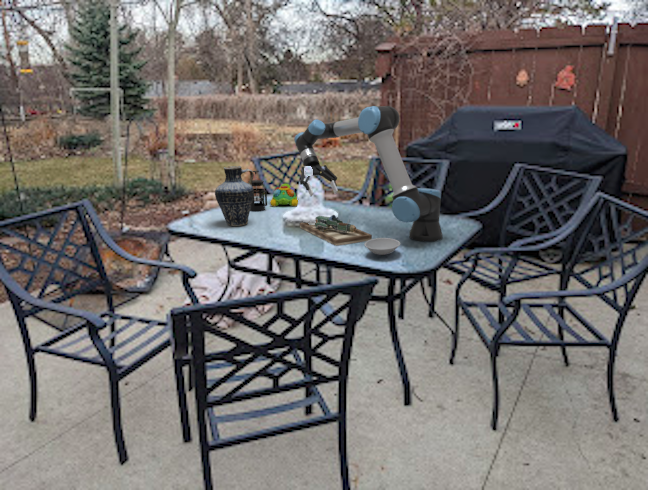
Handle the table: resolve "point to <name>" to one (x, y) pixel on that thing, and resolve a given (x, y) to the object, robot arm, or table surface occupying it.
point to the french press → (259, 206)
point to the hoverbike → (333, 224)
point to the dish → (382, 245)
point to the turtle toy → (284, 196)
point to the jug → (235, 196)
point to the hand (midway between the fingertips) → (324, 193)
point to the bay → (337, 235)
